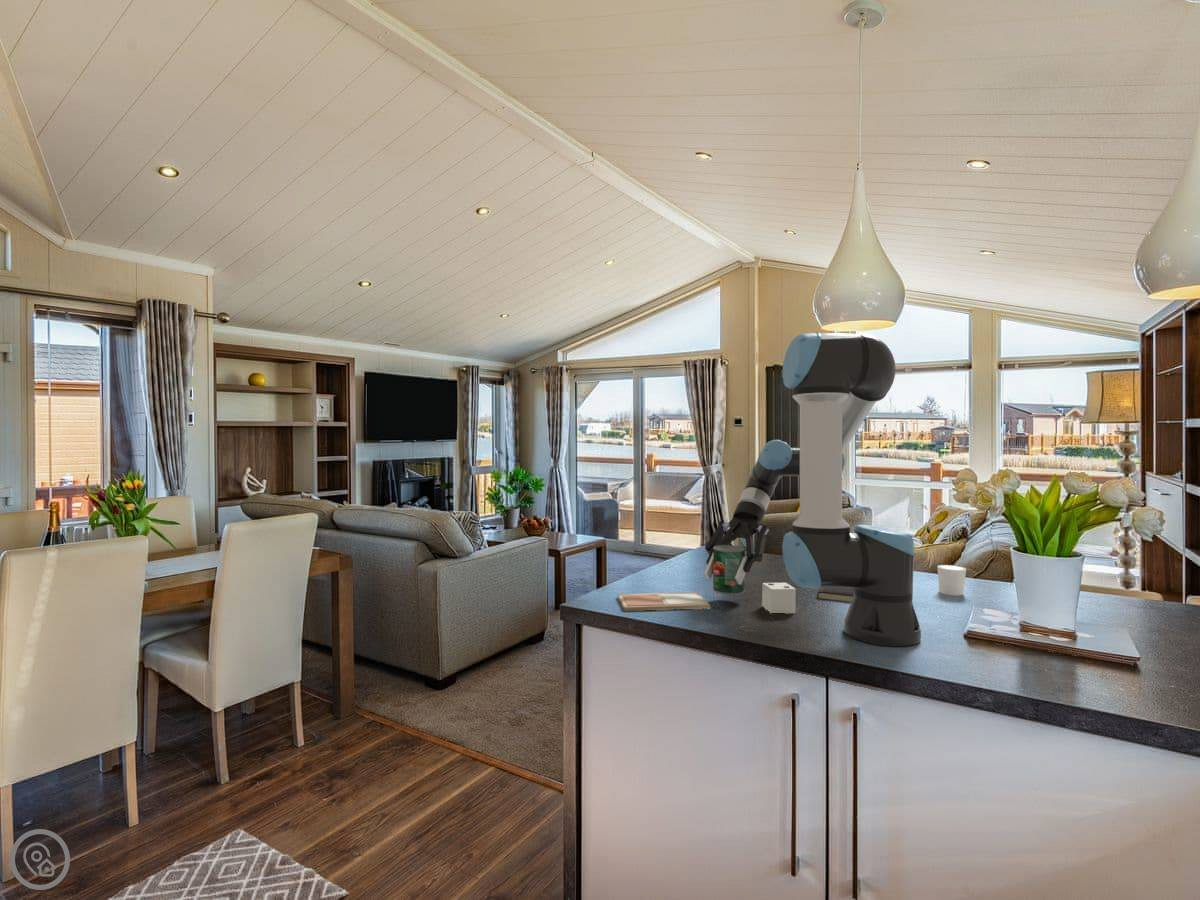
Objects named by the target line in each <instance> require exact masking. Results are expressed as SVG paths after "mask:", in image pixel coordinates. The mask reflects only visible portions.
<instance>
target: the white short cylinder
mask: <svg viewBox="0 0 1200 900" xmlns="http://www.w3.org/2000/svg"><path fill="white" fill-rule="evenodd" d="M966 574H967V568H966V567H965V566H964V567H963V566H959V565H953V564H939V565H937V578H938V592H939V593H940V594H943V595H947V596H959V597H960V596H962V595H964V589H965V581H966Z"/></svg>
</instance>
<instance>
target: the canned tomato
mask: <svg viewBox="0 0 1200 900" xmlns="http://www.w3.org/2000/svg"><path fill="white" fill-rule="evenodd" d="M713 549H714V553H713V575H712V581H713V582H712V587H713V588H712V590H713V591H714V592H715V593H718V594H722V595H742V594H744V593H745V576H744V579H743V581H742V584H741V585H739V584H738V583H737V581H736V579H735V577H736V574H737V572H738V569H739V567H740V564H741V562H742V559H743V557H746V554H745V550H746V547H743V546H740V545H730V544H729V545H718V546H714V547H713Z"/></svg>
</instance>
